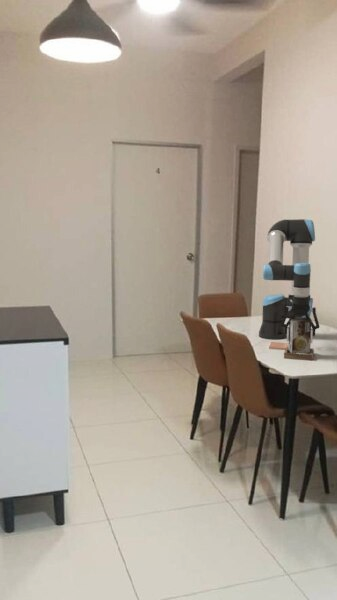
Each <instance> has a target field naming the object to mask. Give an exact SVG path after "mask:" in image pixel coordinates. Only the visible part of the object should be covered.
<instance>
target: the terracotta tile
mask: <svg viewBox="0 0 337 600" xmlns="http://www.w3.org/2000/svg"><path fill="white" fill-rule="evenodd" d="M286 347H289V342H278V341H277V342H276V341H271V342H270V344H269V345H268V349H269V350H280V351H285V349H286Z"/></svg>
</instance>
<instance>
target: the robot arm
mask: <svg viewBox="0 0 337 600" xmlns="http://www.w3.org/2000/svg"><path fill="white" fill-rule="evenodd" d="M315 231H316V230H315V224H314V221H313V220H312V219H306V218H304V219H282V220H279V221H277V222H275V223H274V224H273V225H272V226H271V227H270V228H269V230H268V233H267V242H268V251H267V252H268V253H267V254H268V255H267V264H264V265H263V267H262V268H263V269H262V279H264V280H266V281H290V282H291V290H290V292H289V293H288V297H287V296H285V294H281V293H280V294H279V293H278V294H277V293H276V294H269V295H266V296H264V297H263V299H262V316H261V317H262V319H261V320H262V322H261V326H260V328H259V331H258V336H259V337H260V338H261V339H266V340H267V339H268V340H283V339H285V338H286V343H289V324H290V323H291V319H293V318H307V320H311V344H313V341H314V340H313V337H315V336H316V330H318V329H320V323H319V319H318V316H317V308H316V307H313V302H314V298H313V297H311V293H310V292H311V271H312V270H311V263H309V261H310V259H309V258H310V248H311V246H312V245H313V242H315V241H316V232H315ZM286 242H289V245H290V246H291V248H292V264H291V265H290V264H284V243H286ZM311 314H312V315H313V319H314V322H313V320H312V319H311V316H312V315H311ZM289 318H290V319H289ZM287 319H288V321H287V322H286V320H287ZM314 323H315V324H314Z"/></svg>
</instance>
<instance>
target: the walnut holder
mask: <svg viewBox="0 0 337 600" xmlns="http://www.w3.org/2000/svg"><path fill="white" fill-rule="evenodd" d="M288 349H289V347H286V349H285V350H284V352H283V359H288V360H289V359H290V360H301V361H302V360H304V361H313V360H314V353H315V349H314V348H311V347H310V353H291V352H290V351H289V350H288Z"/></svg>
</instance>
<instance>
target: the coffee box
mask: <svg viewBox="0 0 337 600" xmlns="http://www.w3.org/2000/svg"><path fill="white" fill-rule="evenodd" d="M289 319H290V318H288V320H289ZM311 320H312V319H311ZM311 320H307V318H293V319H291V323H290V324H289V325H288V327H289V341H288V343H289V349H288V350H289V351H290V352H289V353H296V354H306V353H310V348H311V345H312V343H311V329H312V327H311Z"/></svg>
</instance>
